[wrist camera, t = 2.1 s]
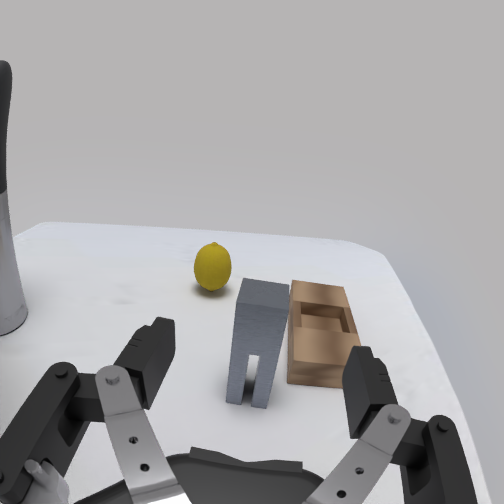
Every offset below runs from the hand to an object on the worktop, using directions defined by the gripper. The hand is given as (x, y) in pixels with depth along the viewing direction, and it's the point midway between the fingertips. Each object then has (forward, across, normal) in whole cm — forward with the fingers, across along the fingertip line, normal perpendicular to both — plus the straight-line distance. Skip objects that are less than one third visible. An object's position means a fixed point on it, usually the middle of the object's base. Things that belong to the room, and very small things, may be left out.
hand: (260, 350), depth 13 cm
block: (+12, 0, +15) cm, 19 cm away
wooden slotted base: (+22, -8, +15) cm, 28 cm away
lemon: (+30, +8, +15) cm, 35 cm away
